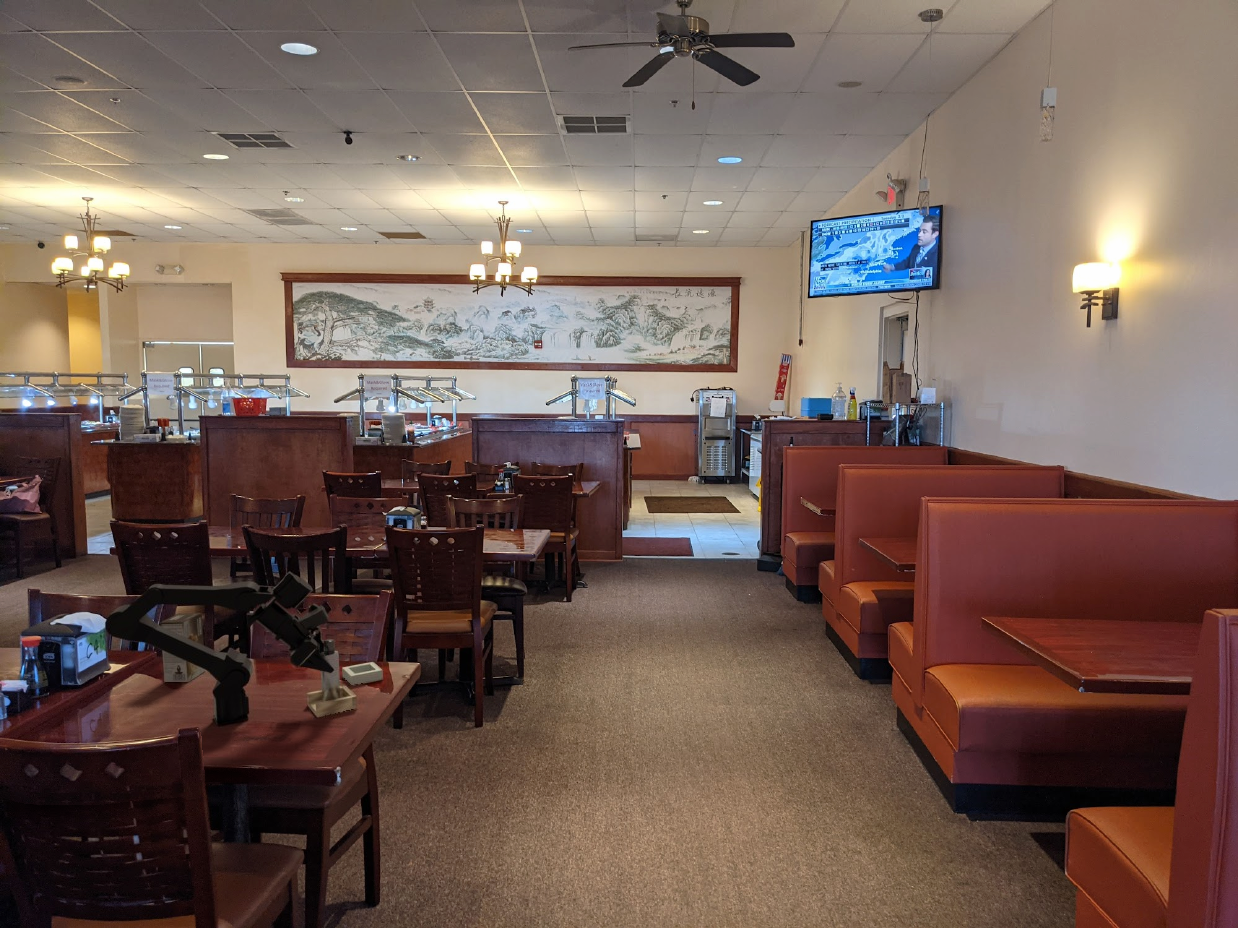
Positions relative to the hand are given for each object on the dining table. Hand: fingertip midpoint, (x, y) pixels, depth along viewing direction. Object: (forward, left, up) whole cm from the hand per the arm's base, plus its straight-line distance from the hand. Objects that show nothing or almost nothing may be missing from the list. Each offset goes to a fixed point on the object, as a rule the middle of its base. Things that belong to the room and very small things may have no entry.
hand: (333, 665), depth 199 cm
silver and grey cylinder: (-1, 0, -9) cm, 9 cm away
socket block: (+11, +16, -10) cm, 22 cm away
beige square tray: (-1, 0, -10) cm, 10 cm away
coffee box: (-27, +44, -10) cm, 53 cm away
